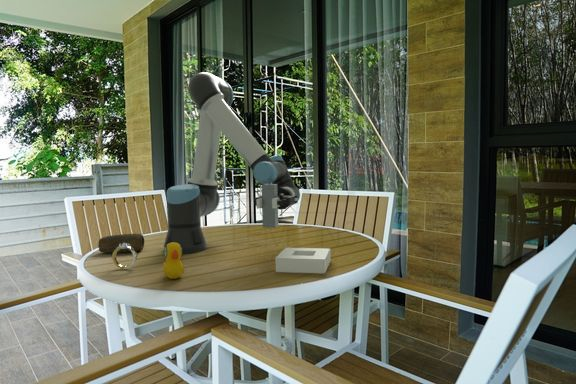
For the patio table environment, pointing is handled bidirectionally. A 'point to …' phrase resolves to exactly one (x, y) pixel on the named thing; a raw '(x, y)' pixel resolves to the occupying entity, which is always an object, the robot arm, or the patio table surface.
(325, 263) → the well block
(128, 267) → the ring
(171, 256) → the duckling
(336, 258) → the patio table surface
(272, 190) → the tall dark grey pillar
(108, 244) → the stone weight
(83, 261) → the patio table surface
